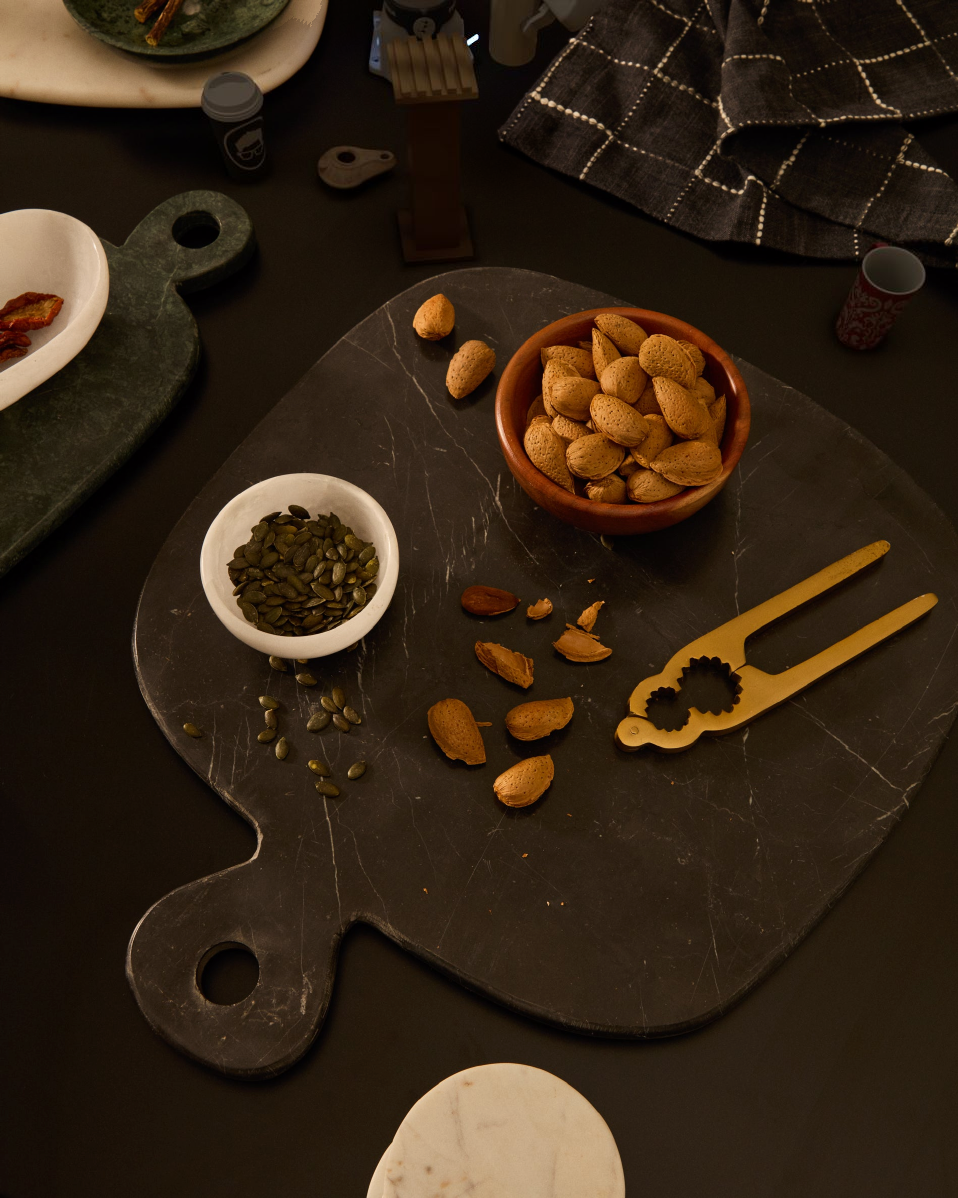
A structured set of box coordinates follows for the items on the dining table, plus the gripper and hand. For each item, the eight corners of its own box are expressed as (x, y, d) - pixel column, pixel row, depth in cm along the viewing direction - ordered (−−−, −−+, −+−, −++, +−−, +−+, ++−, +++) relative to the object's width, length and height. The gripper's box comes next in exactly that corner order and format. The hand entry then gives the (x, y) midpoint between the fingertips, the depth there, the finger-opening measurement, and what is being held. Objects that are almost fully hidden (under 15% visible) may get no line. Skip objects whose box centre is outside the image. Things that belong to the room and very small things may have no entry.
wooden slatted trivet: (386, 49, 133) (385, 37, 131) (466, 43, 134) (466, 31, 132) (395, 104, 128) (395, 92, 127) (478, 98, 129) (478, 86, 128)
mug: (890, 357, 149) (929, 295, 137) (831, 353, 149) (865, 291, 137) (882, 294, 155) (918, 229, 142) (825, 290, 155) (857, 224, 143)
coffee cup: (281, 151, 165) (266, 70, 151) (270, 192, 161) (254, 112, 147) (225, 146, 165) (205, 64, 151) (213, 186, 161) (191, 106, 147)
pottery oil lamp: (402, 189, 161) (387, 169, 154) (336, 209, 164) (318, 192, 157) (393, 138, 162) (378, 117, 155) (327, 160, 165) (309, 140, 158)
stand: (397, 215, 159) (386, 46, 132) (463, 209, 160) (466, 40, 133) (405, 266, 155) (395, 101, 128) (473, 259, 156) (478, 94, 129)
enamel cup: (485, 36, 142) (488, -33, 133) (531, 33, 142) (536, -36, 133) (492, 67, 139) (496, -1, 130) (539, 64, 140) (545, -5, 131)
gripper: (530, -133, 130) (463, -40, 137) (606, -45, 123) (531, 49, 130) (556, -105, 135) (490, -17, 142) (630, -19, 128) (557, 70, 135)
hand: (510, 15), depth 136 cm, fingers closed on enamel cup, 7 cm apart
